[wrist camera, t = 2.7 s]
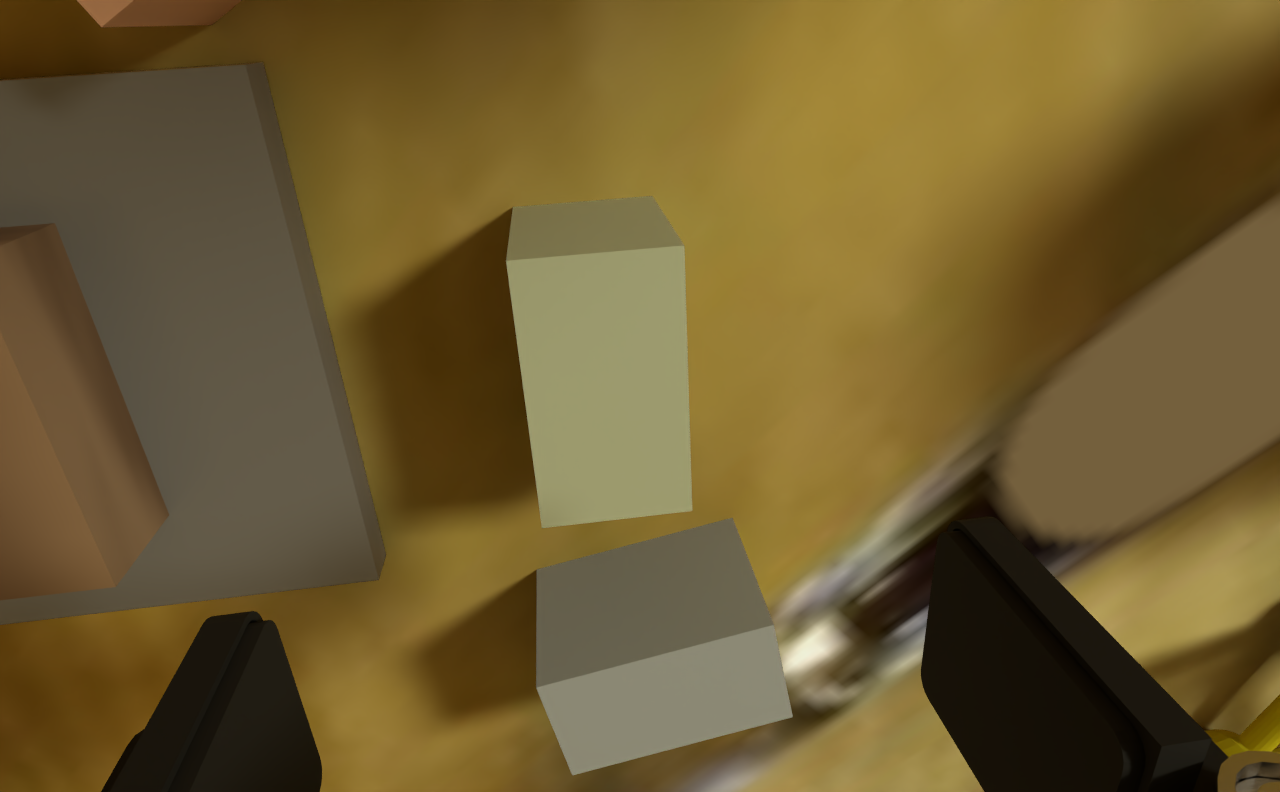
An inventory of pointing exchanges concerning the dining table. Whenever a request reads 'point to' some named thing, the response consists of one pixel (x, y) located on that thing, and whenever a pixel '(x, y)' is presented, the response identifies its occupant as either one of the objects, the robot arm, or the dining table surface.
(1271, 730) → the educational toy
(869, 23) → the dining table surface
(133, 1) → the brick terracotta
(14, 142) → the slate board
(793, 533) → the dining table surface
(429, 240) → the dining table surface
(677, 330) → the brick sage
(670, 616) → the grey block
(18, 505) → the brick walnut
